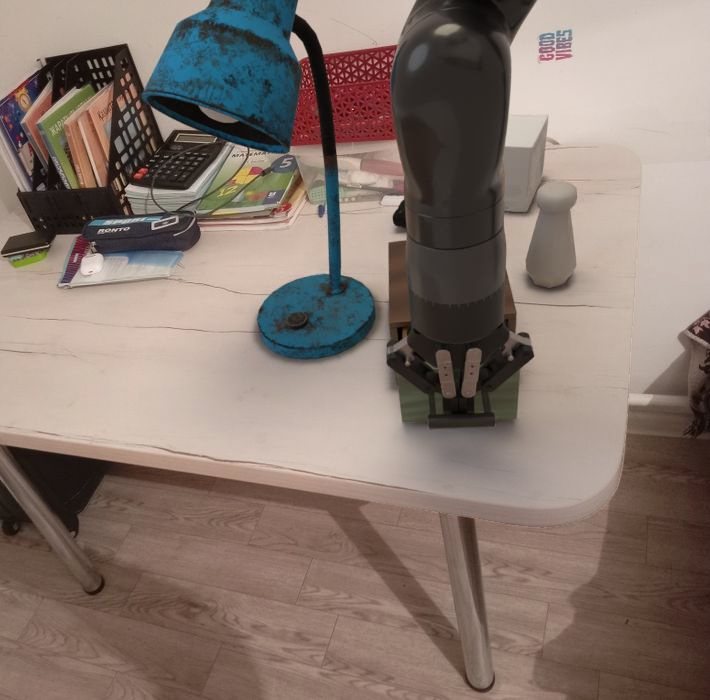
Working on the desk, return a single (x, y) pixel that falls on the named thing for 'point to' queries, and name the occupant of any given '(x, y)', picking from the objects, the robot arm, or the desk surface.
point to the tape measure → (400, 216)
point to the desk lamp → (266, 146)
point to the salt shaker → (553, 236)
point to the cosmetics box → (523, 159)
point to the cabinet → (400, 294)
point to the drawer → (485, 413)
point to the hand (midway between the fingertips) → (458, 415)
